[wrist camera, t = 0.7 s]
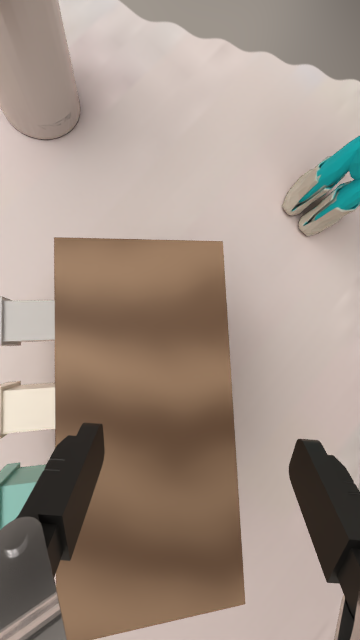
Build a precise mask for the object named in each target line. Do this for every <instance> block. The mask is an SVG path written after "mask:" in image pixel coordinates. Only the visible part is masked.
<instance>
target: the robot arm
mask: <svg viewBox="0 0 360 640" xmlns="http://www.w3.org/2000/svg"><path fill="white" fill-rule="evenodd" d="M0 107H1V109H2V111H3V113H4V115H5V116H6V118H7V120H8V121H9V122H10V123H11V124H12V126H13V127H14V128H16V129H17V130H18V131H20V132H21V133H23V134H25V135H27V136H30V137H33V138H37V139H54V138H57V137H61V136H63V135H65V134H66V133H68V132H69V131H70V130H72V129H73V128H74V126H75V125H76V123H77V122H78V119H79V116H80V103H79V98H78V93H77V88H76V83H75V79H74V73H73V69H72V64H71V59H70V54H69V50H68V45H67V40H66V36H65V31H64V26H63V21H62V17H61V12H60V7H59V3H58V0H0ZM104 454H105V448H104V434H103V425H102V424H98V423H83V424H82V425H81V427H80V429H79V431H78V433H77V435H76V436H71V435H68V436H67V437H66V438H64V439H63V440H62V441H61V442H60V443H59V444H58V445H57V446H56V448H55V450H54V452H53V454H52V455H51V457H50V460H49V461H48V463H47V464H46V466H45V468H44V471H43V472H42V473H41V475H40V477H39V479H38V481H37V483H36V484H35V486H34V488H33V490H32V492H31V493H30V495H29V497H28V499H27V501H26V502H25V504H24V506H23V508H22V510H21V511H20V513H19V515H18V516H17V517H16V519H15V520H13V521H11V522H10V523H8V524H7V525H5V526H4V527H3V528H2V529H1V530H0V640H67V635H66V630H65V626H64V621H63V617H62V612H61V608H60V603H59V599H58V594H57V590H56V585H55V581H54V577H55V574H56V571H57V568H58V566H59V563H60V560H63V561H70V560H71V558H72V555H73V552H74V549H75V546H76V543H77V540H78V537H79V534H80V531H81V528H82V525H83V522H84V519H85V516H86V513H87V510H88V507H89V504H90V501H91V498H92V495H93V492H94V489H95V486H96V483H97V480H98V477H99V474H100V471H101V468H102V465H103V461H104ZM289 476H290V481H291V484H292V487H293V489H294V492H295V495H296V498H297V501H298V503H299V506H300V509H301V512H302V514H303V517H304V520H305V523H306V526H307V528H308V531H309V534H310V537H311V539H312V542H313V545H314V548H315V551H316V553H317V556H318V559H319V562H320V564H321V567H322V570H323V573H324V576H325V578H326V581H327V583H340V585H341V588H342V591H343V593H344V595H343V597H342V601H341V606H340V611H339V616H338V621H337V626H336V631H335V636H334V640H360V492H359V490H358V488H357V486H356V485H355V484H354V481H353V479H352V478H351V476H350V474H349V473H348V471H347V469H346V468H345V467H344V466H343V465H342V464H341V463H340V462H339V461H338V460H337V459H336V458H335V457H334V456H333V455H327V453H326V451H325V449H324V448H323V446H322V444H321V443H320V441H318V440H308V439H298V440H297V442H296V445H295V448H294V451H293V454H292V458H291V461H290V464H289Z"/></svg>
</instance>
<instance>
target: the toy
mask: <svg viewBox="0 0 360 640" xmlns="http://www.w3.org/2000/svg"><path fill="white" fill-rule="evenodd" d="M348 171H349V172H350V175H351V177H352V178H353V179H355V180H353V181H350V182H346V183H343V184H340V185H339V186H338V187H337V188H336V189H335V190H334V191H333V192H332V193H331V194H329V195H328V196H327V197H326V198H324V199H323V200H322V201H321V202H320V203H319V204H318V205H317V206H316V207H315V208H313V209H312V210H310V211H309V212H308V213H306V214H305V215H304V216H302V217H301V219H300V221H299V229H300V230H301V231H302V232H303V233H304V234H305V235H307V236H311V235H314V234H317V233H320V232H321V231H323V230H324V229H326V228H328V227H330V226H332V225H333V224H335V223H337V222H338V221H339V220H340V219H341V218H342V217H343V216H344V215H346V214H348V213H350V212H352V211H355V209H356V208H357V207H358V206H359V205H360V136H359V137H357V138H355V139H354V140H352V141H351V142H349V143H348V144H347V145H345V146H344V147H343V148H342V149H340V150H339V151H338V152H336V153H335V154H334V155H333V156H330V157H327V158H325V159H324V160H323V161H322V162H321V163H319V164H318V165H317V166H316V168H315V169H312V170H309V171H308V172H307V173H305V174H304V175H302V176H301V177H300V178H299V179H298V181H297V182H296V183H295V184H294V186H293V187H292V188H291V189H290V190H289V191H288V193H287V195H286V198H285V200H284V203H283V206H282V207H283V209H284V210H285V211H286V213H287V214H288V215H297V214H299V213H301V212H302V211H303V210H304V209H305V208H307V207H308V206H309V205H310V204H311V203H312V202H314V201H315V200H317V199H318V198H320V197H322V196H323V195H325V194H326V193H327V192H328V191H329V190H331V189H332V188H333V187H334V186H335V185H336V184H337V183H338V182H339V181H340V180H341V179H342V178H343V177H344V176H345V174H346V173H347V172H348Z"/></svg>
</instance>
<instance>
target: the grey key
mask: <svg viewBox="0 0 360 640" xmlns="http://www.w3.org/2000/svg"><path fill="white" fill-rule="evenodd" d="M33 341H55V300H28V301H12V300H10V299H7V298H4V297H2V296H0V346H19V345H21V342H33Z"/></svg>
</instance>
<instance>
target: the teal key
mask: <svg viewBox="0 0 360 640" xmlns="http://www.w3.org/2000/svg"><path fill="white" fill-rule="evenodd" d="M45 466H46V465H38V466H29V467H21V468H20V463H12V464H7V465H6V466H5V467H4V468H3V469H2V470H1V471H0V530H1V529H2V528H3V527H4V526H5V525H7V524H8V523H10V522H11V521H13V520H15V519H16V517H17V516H18V515H19V513H20V511H21V510H22V508H23V506H24V504H25V502H26V501H27V499H28V497H29V495H30V493H31V492H32V490H33V488H34V486H35V484H36V483H37V481H38V479H39V477H40V475H41V473H42V472H43V471H44V468H45Z"/></svg>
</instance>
